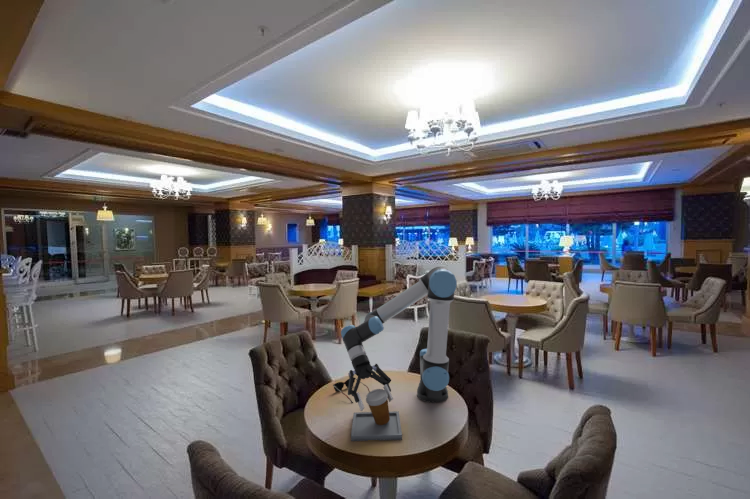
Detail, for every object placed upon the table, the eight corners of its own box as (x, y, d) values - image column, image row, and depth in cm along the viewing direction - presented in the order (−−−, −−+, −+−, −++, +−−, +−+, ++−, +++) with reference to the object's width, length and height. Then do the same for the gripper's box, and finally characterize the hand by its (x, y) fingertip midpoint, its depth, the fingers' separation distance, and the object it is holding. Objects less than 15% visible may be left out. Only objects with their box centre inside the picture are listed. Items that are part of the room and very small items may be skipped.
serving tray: (398, 415, 157) (398, 411, 157) (402, 439, 138) (402, 434, 138) (353, 416, 157) (353, 412, 156) (351, 441, 138) (351, 436, 138)
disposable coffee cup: (391, 426, 144) (385, 400, 143) (369, 428, 147) (362, 402, 145) (394, 412, 154) (388, 387, 152) (374, 413, 156) (367, 389, 154)
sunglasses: (354, 385, 189) (354, 376, 189) (373, 398, 177) (373, 388, 176) (332, 393, 181) (332, 384, 181) (350, 407, 168) (350, 397, 168)
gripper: (380, 356, 166) (398, 400, 154) (330, 368, 153) (347, 417, 141) (385, 348, 161) (405, 393, 149) (335, 360, 149) (352, 409, 136)
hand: (377, 404), depth 145 cm, fingers open, 13 cm apart
